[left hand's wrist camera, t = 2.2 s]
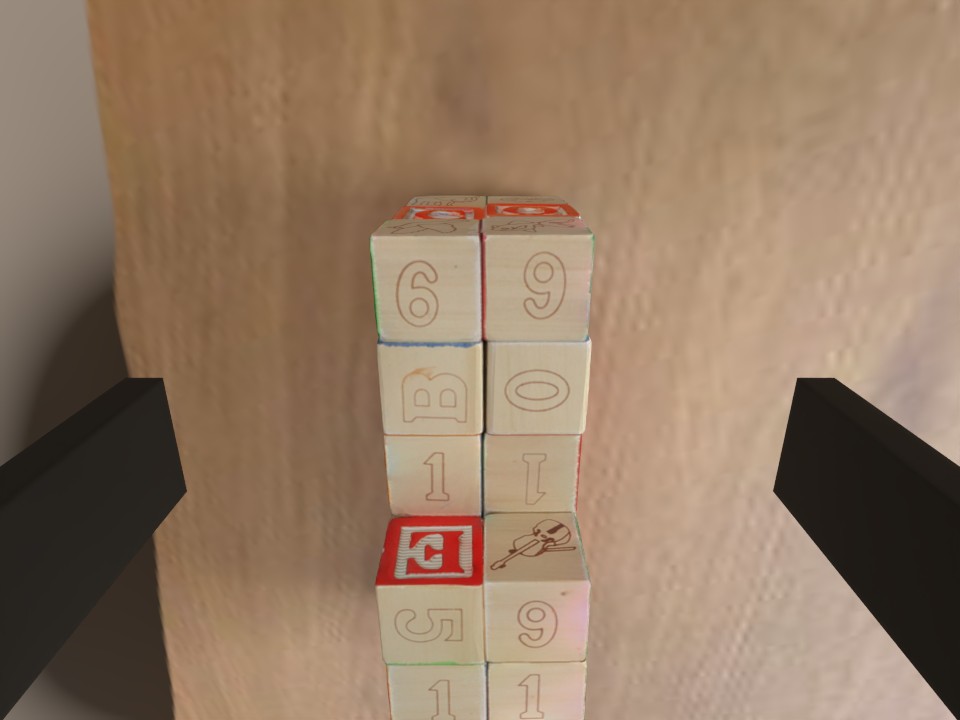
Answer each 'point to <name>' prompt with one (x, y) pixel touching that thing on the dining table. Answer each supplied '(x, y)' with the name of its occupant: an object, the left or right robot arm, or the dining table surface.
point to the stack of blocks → (483, 456)
